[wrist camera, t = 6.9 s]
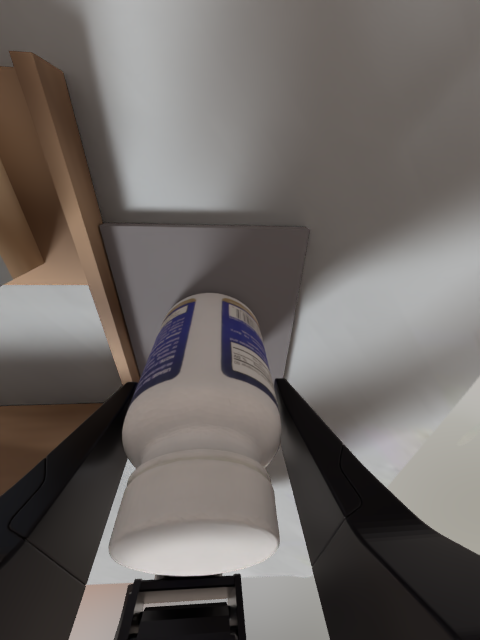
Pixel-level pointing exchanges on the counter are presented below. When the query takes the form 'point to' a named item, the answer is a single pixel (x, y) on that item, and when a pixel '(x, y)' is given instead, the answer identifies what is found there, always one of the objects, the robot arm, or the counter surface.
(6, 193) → the offcut lower
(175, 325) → the pill bottle
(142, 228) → the mat
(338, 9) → the counter surface
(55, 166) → the rack
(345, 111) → the counter surface
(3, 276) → the offcut upper
